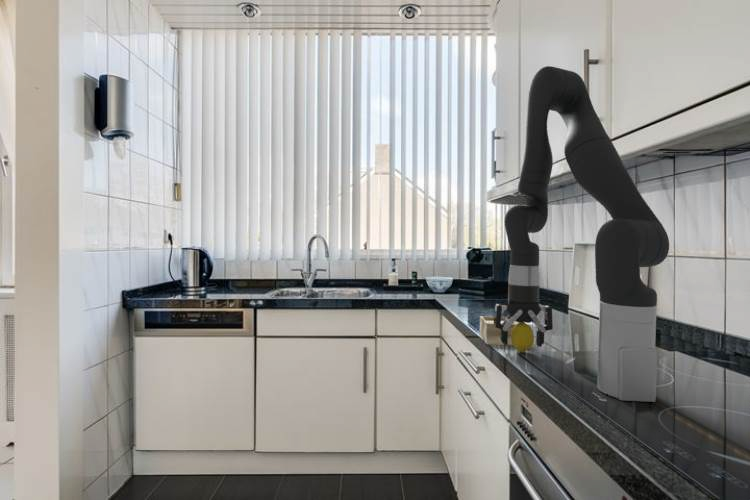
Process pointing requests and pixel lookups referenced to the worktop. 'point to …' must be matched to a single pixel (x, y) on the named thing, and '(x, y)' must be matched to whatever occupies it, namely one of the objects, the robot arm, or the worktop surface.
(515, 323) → the wooden box
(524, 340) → the lemon
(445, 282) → the chinaware
